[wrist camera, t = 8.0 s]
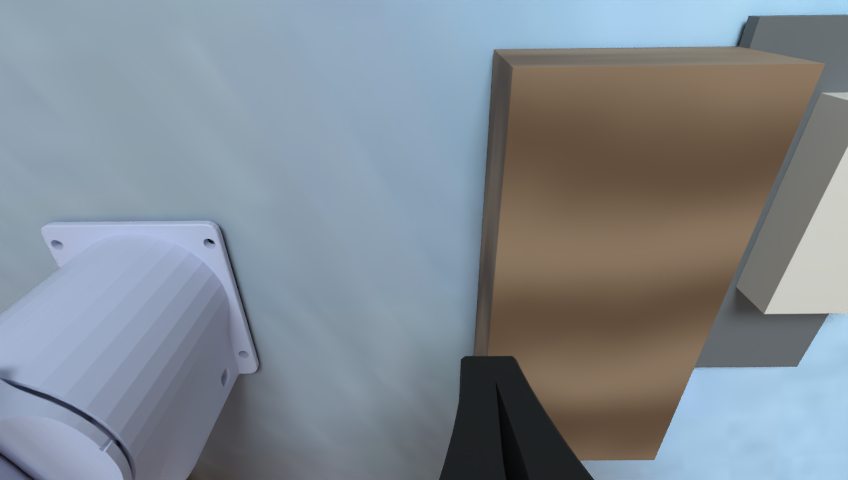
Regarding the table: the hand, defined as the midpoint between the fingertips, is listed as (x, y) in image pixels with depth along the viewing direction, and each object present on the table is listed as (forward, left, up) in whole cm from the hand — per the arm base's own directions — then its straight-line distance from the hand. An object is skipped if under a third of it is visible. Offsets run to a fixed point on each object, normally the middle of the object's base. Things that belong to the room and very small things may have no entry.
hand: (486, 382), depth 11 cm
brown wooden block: (-2, -6, -9) cm, 11 cm away
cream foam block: (+1, -16, -8) cm, 18 cm away
